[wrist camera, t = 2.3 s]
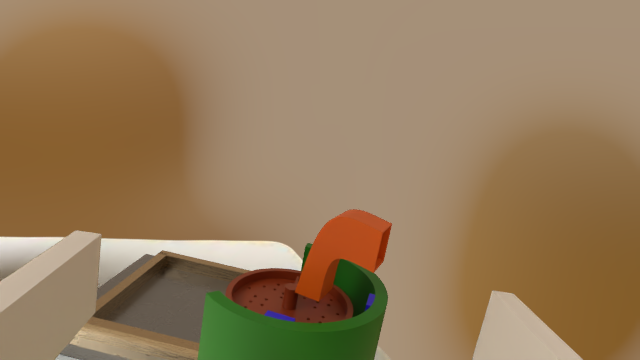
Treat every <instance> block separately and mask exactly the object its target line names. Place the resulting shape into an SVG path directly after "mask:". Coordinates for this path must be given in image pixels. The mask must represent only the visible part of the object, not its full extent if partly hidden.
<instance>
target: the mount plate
mask: <svg viewBox="0 0 640 360" xmlns="http://www.w3.org/2000/svg"><path fill="white" fill-rule="evenodd" d="M247 272H250V271H249V270H244V269H240V268H236V267H232V266H227V265H223V264H219V263H214V262H210V261H206V260H201V259H197V258H193V257H189V256H184V255H180V254H176V253H171V252H167V251H163V250H162V251H161V252H160V253H158V254H157V255H156V256H152V255H148V254H145V255H144V256H143V257H141V258H140V259H139V260H137V261H136V262H134V263H133V264H132V265H130V266H129V267H127V268H126V269H125V270H123V271H122V272H121V273H119V274H118V275H116V276H115V277H114V278H112V279H111V280H109V281H108V282H107V283H105V284H104V285H103V286H101V287H100V288H98V289H97V299H96V312H95V313H94V315H93V316H92V317H91V318H90V319H89V320H88V322H87V323H86V324H85V325H84V326H83V327H82V328H81V330H80V331H79V332H78V333H77V334H76V335H75V336H74V338H73V339H72V340H71V341H70V342H69V343H68V345H67V346H66V347H65V348H64V349H63V350H62V351H61V353H60V354H62V355H66V356H70V357H73V358H77V359H81V360H198V352H199V344H200V336H201V328H202V320H203V313H204V305H205V297H206V293H209V292H214V291H220V292H221V293H222V294H224V295H225V294H226V289H227V287H228V285H229V283H230V282H231V281H232V280H233V279H235V278H236V277H238V276H240V275H242V274H244V273H247Z"/></svg>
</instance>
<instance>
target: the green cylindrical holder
mask: <svg viewBox="0 0 640 360" xmlns="http://www.w3.org/2000/svg"><path fill="white" fill-rule="evenodd" d="M391 226H392V223H389V222H387V221H385V220H383V219H381V218H379V217H377V216H375V215H372V214H370V213H368V212H365V211H361V210H354V209H353V210H348V211H345V212H344V213H342V214H340V215H339V216H337V217H335V218H333V219H331V220H330V221H329V222H327V223H326V224H325V225H324V227H323V228H322V229H321V231H320V232H319V234H318V235H317V237H316V239H315V241H314V243H313V244H310V243H308V244H307V245H306V247H305V252H304V258H303V263H302V269H301V271H297V270H291V269H280V268H269V269H259V270H254V271H250V272H247V273H244V274H242V275H240V276H238V277H236V278H235V279H233V280H232V281H231V282H230V283H229V285H228V287H227V289H226V294H225V295H224V294H222V293H221V292H220V291H214V292H209V293H206V297H205V305H204V313H203V320H202V328H201V336H200V344H199V352H198V360H374V357H375V353H376V348H377V344H378V340H379V335H380V331H381V327H382V322H383V318H384V314H385V310H386V306H387V300H388V295H387V291H386V288H385V286H384V284H383V283H382V281H381V280H380V279H379V278H378V276H377V275H376V274H374V272H375V270H377V268H378V267H379V266H380V265H381V264H382V263H383V261H384V257H385V252H386V248H387V244H388V239H389V235H390V230H391Z"/></svg>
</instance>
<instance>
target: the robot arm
mask: <svg viewBox="0 0 640 360" xmlns="http://www.w3.org/2000/svg"><path fill="white" fill-rule="evenodd" d="M100 246H101V234H97V233H90V232H83V231H75V232H73V233H72V234H70V235H69V236H67V237H66V238H64V239H63V240H61V241H60V242H58V243H57V244H55V245H54V246H52V247H51V248H49V249H48V250H46V251H45V252H43V253H42V254H40V255H39V256H37V257H36V258H34V259H33V260H31V261H30V262H28V263H27V264H25V265H24V266H22V267H21V268H19V269H18V270H16V271H15V272H13V273H12V274H10V275H9V276H7V277H6V278H4V279H3V280H1V281H0V360H55V358H56V357H57V356H58V355H59V354H60V353H61V351H62V350H63V349H64V348H65V347H66V346H67V345H68V343H69V342H70V341H71V340H72V339H73V338H74V336H75V335H76V334H77V333H78V332H79V331H80V330H81V328H82V327H83V326H84V325H85V324H86V323H87V322H88V320H89V319H90V318H91V317H92V316H93V315H94V313H95V312H96V299H97V286H98V272H99V259H100ZM472 360H583V359H582V358H581V357H580V356H578V355H577V354H576V353H575V352H574V351H573V350H572V349H571V348H570V347H569V346H568V345H567V344H566V343H565V342H564V341H563V340H562V339H561V338H560V337H558V336H557V335H556V334H555V333H554V332H553V331H552V330H551V329H550V328H549V327H548V326H546V324H545V323H544V322H542V320H541V319H539V318H538V317H537V316H536V315H535V314H534V313H533V312H532V311H531V310H530V309H529V308H528V307H527V306H526V305H525V304H524V303H522V302H521V301H520V300H519V299H518V298H517V297H516V296H515V295H514V294H513V293H506V292H499V291H492V294H491V297H490V301H489V304H488V307H487V311H486V314H485V318H484V321H483V324H482V328H481V331H480V335H479V338H478V341H477V344H476V348H475V351H474V355H473V358H472Z"/></svg>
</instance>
